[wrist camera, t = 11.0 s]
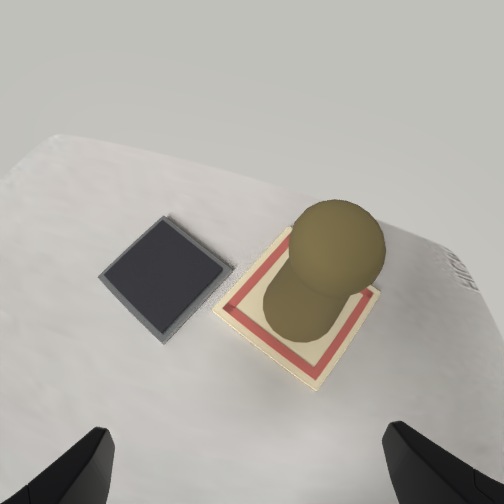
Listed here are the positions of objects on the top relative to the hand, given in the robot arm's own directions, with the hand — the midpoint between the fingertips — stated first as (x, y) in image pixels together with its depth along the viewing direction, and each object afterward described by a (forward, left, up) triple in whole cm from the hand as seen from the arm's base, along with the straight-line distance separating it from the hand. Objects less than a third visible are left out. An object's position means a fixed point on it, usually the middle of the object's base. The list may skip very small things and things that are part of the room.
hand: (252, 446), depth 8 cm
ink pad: (+12, -5, -14) cm, 19 cm away
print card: (+2, -10, -14) cm, 17 cm away
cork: (+2, -10, -13) cm, 17 cm away
